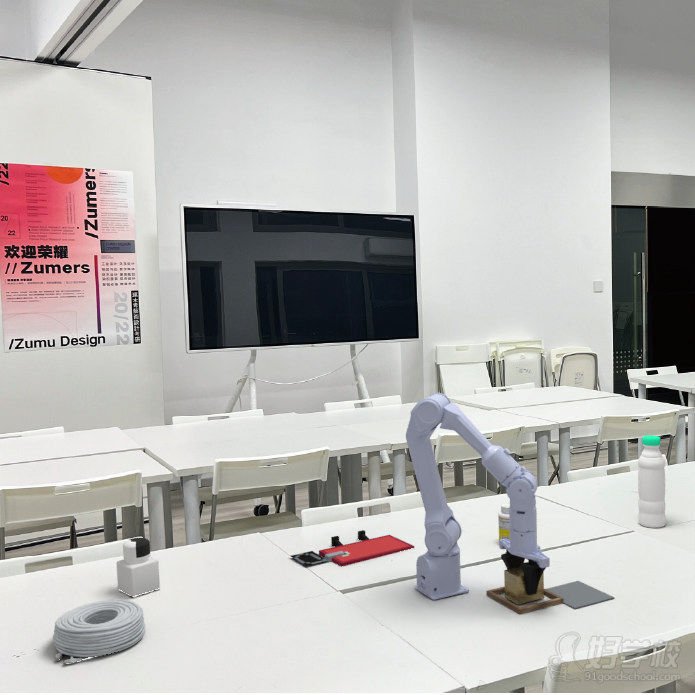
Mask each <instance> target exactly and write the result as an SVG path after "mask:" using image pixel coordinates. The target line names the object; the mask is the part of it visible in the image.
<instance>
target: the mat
mask: <svg viewBox="0 0 695 695" xmlns="http://www.w3.org/2000/svg"><path fill="white" fill-rule="evenodd" d="M545 589H546V590H548V591H550V592H552V593H554V594H556V595H558V596H560V597H562V598H564V602H563V603H562V604H563V605H564V606H568V607H570V608H571V609H573V610H577V609H581V608H585V607H589V606H592V605H597V604H599V603H603V602H607V601H611V600H614V599H615V596H613V595H610V594H609V593H606V592H603V591H601V590H600V589H597V588H596V587H593V586H591V585H588V584H586V583H584V582H582V581H580V580H576V581H572V582H571V581H570V582H569V583H564V584H563V583H562V584H559V585H556V586H552V587H551V586H550V587H547V588H545Z"/></svg>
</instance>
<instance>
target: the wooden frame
mask: <svg viewBox="0 0 695 695" xmlns="http://www.w3.org/2000/svg"><path fill="white" fill-rule="evenodd" d="M546 589H547V588H544V597H547V598H548V600H544V601H541V602H536V603H533V604H529V605H525V606H521V607H520V606H519V605H518V604H517V605H516V603H514V602H513V601H511V600H509V599H508V600H507V598H505V597H504V596H501V595H500V594H505V585H504V586H501V587H498V588H493V589H488V590H486V596H487V597H489V598H490V599H493V600H494V601H495V602H498V603H499V604H501V605H502V606H504V607H506V608H508V609H510V610H511V611H513V612H515V613H516V614H518V615H523V614H527V613H530V612H535V611H538V610H543V609H546V608H550V607H553V606H557V605H561V604H563V602H564V598H562V597H560V596H558V595H556V594H554V593H552V592H550V591H548V590H546Z"/></svg>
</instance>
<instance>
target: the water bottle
mask: <svg viewBox="0 0 695 695" xmlns="http://www.w3.org/2000/svg"><path fill="white" fill-rule="evenodd" d="M641 440H642V441H641V442H642V446H643V450H642V451H641V454H640V455H639V458H638V459H637V465H638V472H637V478H638V479H637V488H638V503H637V506H638V520H637V521H638V524H639V525H641V526H642V527H644V528H651V529H659V528H663V527H664V526H665V525H666V501H665V497H666V470H665V467H666V460H665V459H664V457H663V454H662V451H660V446H661V442H662V441H661V437H660V436H658V435H649V434H648V435H643V436H642V438H641Z"/></svg>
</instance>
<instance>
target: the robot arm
mask: <svg viewBox="0 0 695 695" xmlns="http://www.w3.org/2000/svg"><path fill="white" fill-rule="evenodd" d="M439 425H440V426H439ZM438 426H439V429H441V430H449V431H454V432H455V433H456V434H458V435H459V437H461V438H462V439H463V440H464V441H465V442H466V443H467V444H468V445H470V447H471V448H473V450H475V451H476V452H477V453H478V454H479V455H480V457H481V465H482V466H483V467H484V468H485V469H486V470H487V472H489V473H490V474H491V476H493V477H494V478H495V480H497V481H498V483H500V485H501V486H503V487H505V488H506V489H505V492H506V496H507V497H508V499H509V503H510V507H509V521H510V540H509V539H501V540H499V539H498V544H499V546H498V547H499V549H500V550H506V551H505V553H501V555H500V558H501V560H502V561H503V563H504V566H505V568H506V570H507V569H512V568H516V567H520V566H521V568H522V570H523V573H524V577H525V585H526V592H527V595H533V594H536V593H537V589H538V585H539V581H540V578H541V576H542V574H543V572H544V571H545V570H546V569H547V568H549V567H550V564H551V563H550V560H551V559H550V557H549V556H548V555H546V554H544V553H543V552H542V551H541V546H540V545H538V529H537V528H538V524H537V522H538V521H537V506H536V505H537V500H536V495H535V494H536V492H537V490H538V484H539V483H538V479H537V477H536V476H535V475H534V473H533V472H532V471H530V470H529V469H528V470H527V468H526V467H525V466H524V465H522V466H521V465H520V464H519V463H518V462H517V461H516V460H515V459H514V458H513V457H512V455H510V454H511V450H509V448H507V447H505V448H503V447H502V446H501V445H494V444H492V443H491V441H489V440H488V438H486V436H485V435H484V434H483V433H482V432H481V431H480V430H479V429H478V428H477V426H476V425H475V424H474V423H473V422H472V421H471V420H470V419H469V417H467V415H466V414H465V413H464V412H463V411H462V410H461V409H460V407H459V406H458V405H457V404H456V403H454V402H453V401H451V400H450V397H448V396H447V395H446V394H444V393H441V392H435V393H432V394H430V395H429V396H427V397H425V398H421V400H418V402H417V403H416V404H415V405H414V406H413V408H412V409H411V411H410V417H409V421H408V424H407V428H406V433H405V440H406V443H407V444H406V445H407V448H408V451H409V455H410V458H411V462H412V463H411V464H412V466H413V467H412V468H413V469H414V470H413V471H414V473H415V477H416V478H415V479H416V481H417V482H416V483H417V485H418V489H419V492H420V496H421V500H422V504H423V507H424V511H425V514H424V515H425V516H424V530H425V534H424V545H425V547H426V550H427V551H426V552H425V553H424V554H422V555H419V556H417V559H416V563H415V564H416V565H415V566H416V586H415V587H414V588H415V589H416V590H417V591H419V592H420V593H422V594H424V595H425V596H426V597H428V598H429V599H431V600H433V601H435V600H440V599H443V598H447V597H451V596H456V595H460V594H465V593H468V592H470V590H469V588H467V587H465V586H464V585H462V584H461V583H462V582H461V581H462V579H461V578H462V577H461V574H462V573H461V549H460V548H461V547H459V545H458V541H459V540H460V538H461V536H462V533H463V532H462V526H461V524H460V522H459V521H458V520H457V519H456V517H455V515H454V512H453V511H454V510H452V509H451V508H450V506H449V505H448V502H447V497H446V494H445V490H444V486H443V483H442V479H441V476H440V472H439V468H438V464H437V460H436V457H435V454H434V449H433V446H432V441H431V436H432V435H433V434H434V432H435V431H436V429H437V427H438ZM525 560H528V561H526V562H525Z"/></svg>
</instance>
